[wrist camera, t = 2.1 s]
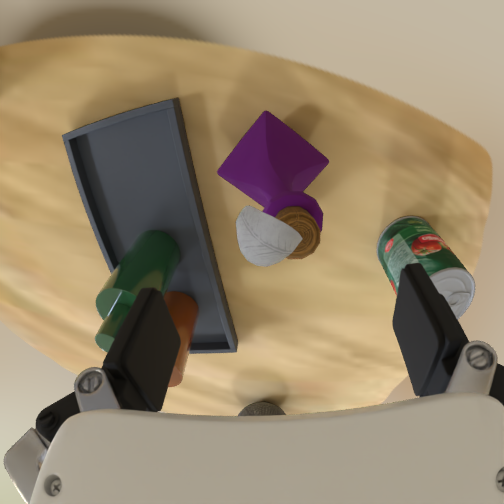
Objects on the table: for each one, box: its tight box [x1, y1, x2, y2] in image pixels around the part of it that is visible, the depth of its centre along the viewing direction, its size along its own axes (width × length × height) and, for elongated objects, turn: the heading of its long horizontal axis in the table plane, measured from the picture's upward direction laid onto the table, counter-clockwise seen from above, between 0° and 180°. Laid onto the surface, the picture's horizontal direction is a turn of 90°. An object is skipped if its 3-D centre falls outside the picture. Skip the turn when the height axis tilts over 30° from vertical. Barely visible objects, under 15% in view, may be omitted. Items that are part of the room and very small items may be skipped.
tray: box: [62, 98, 238, 354], centre depth 36 cm, size 34×14×2 cm, turn 9°
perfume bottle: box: [217, 111, 329, 266], centre depth 22 cm, size 8×8×18 cm
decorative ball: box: [238, 402, 286, 416], centre depth 50 cm, size 10×10×10 cm
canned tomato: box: [377, 216, 475, 320], centre depth 30 cm, size 8×8×11 cm
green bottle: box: [95, 230, 181, 352], centre depth 30 cm, size 6×6×15 cm
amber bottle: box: [164, 291, 200, 387], centre depth 34 cm, size 6×6×15 cm
